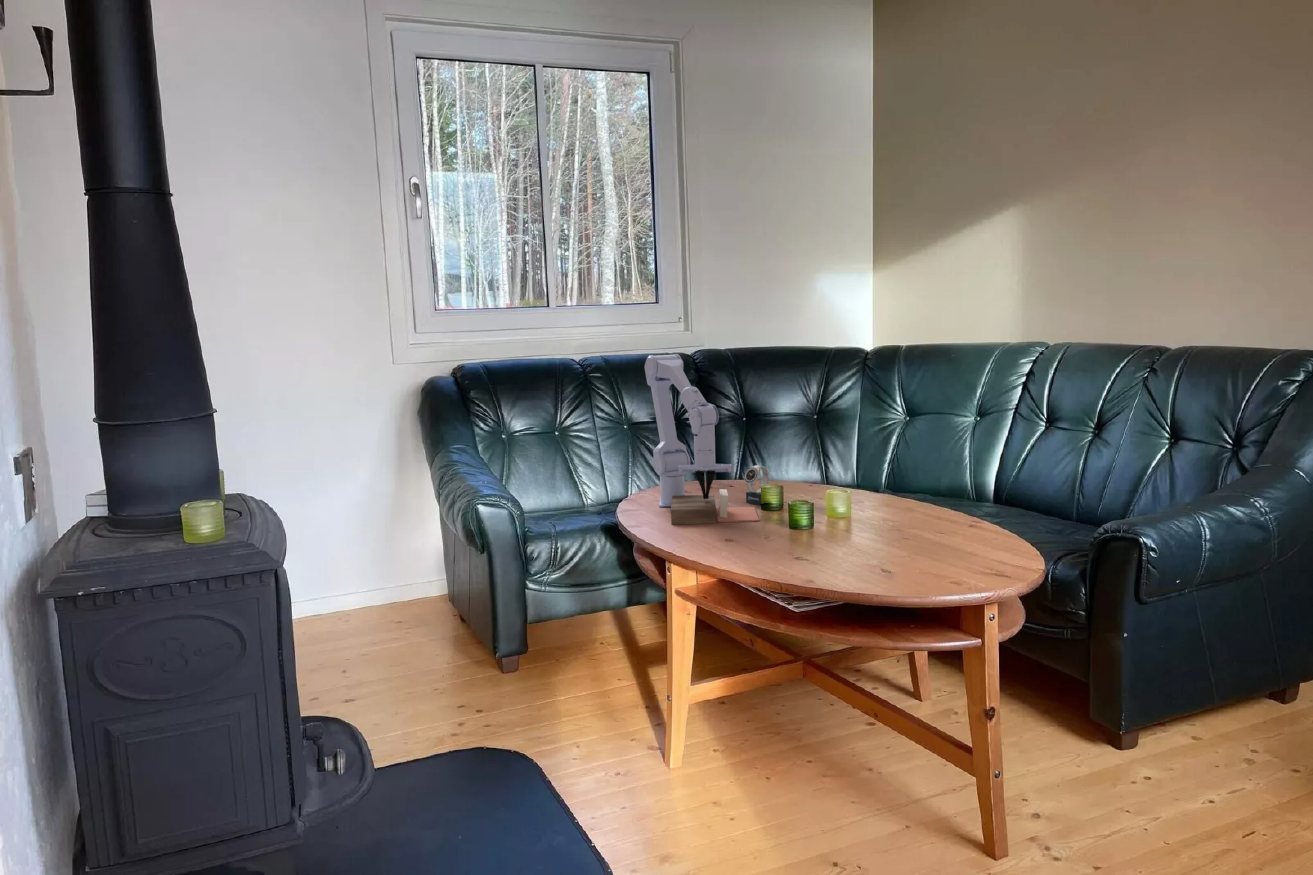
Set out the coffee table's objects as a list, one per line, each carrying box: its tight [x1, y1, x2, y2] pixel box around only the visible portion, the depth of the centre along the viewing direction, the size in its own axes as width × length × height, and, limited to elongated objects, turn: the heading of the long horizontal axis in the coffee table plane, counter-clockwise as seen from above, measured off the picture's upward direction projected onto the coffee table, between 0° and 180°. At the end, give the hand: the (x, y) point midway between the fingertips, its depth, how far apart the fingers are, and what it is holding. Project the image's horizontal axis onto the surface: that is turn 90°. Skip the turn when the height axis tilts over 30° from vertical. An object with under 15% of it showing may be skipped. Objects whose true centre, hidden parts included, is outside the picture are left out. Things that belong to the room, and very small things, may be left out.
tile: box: [718, 488, 729, 518], centre depth 232 cm, size 9×6×2 cm
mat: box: [716, 506, 760, 523], centre depth 232 cm, size 16×11×1 cm
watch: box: [743, 464, 770, 506], centre depth 246 cm, size 6×8×11 cm
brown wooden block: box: [670, 494, 717, 525], centre depth 233 cm, size 18×12×4 cm, turn 178°
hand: (705, 498), depth 232 cm, fingers closed
